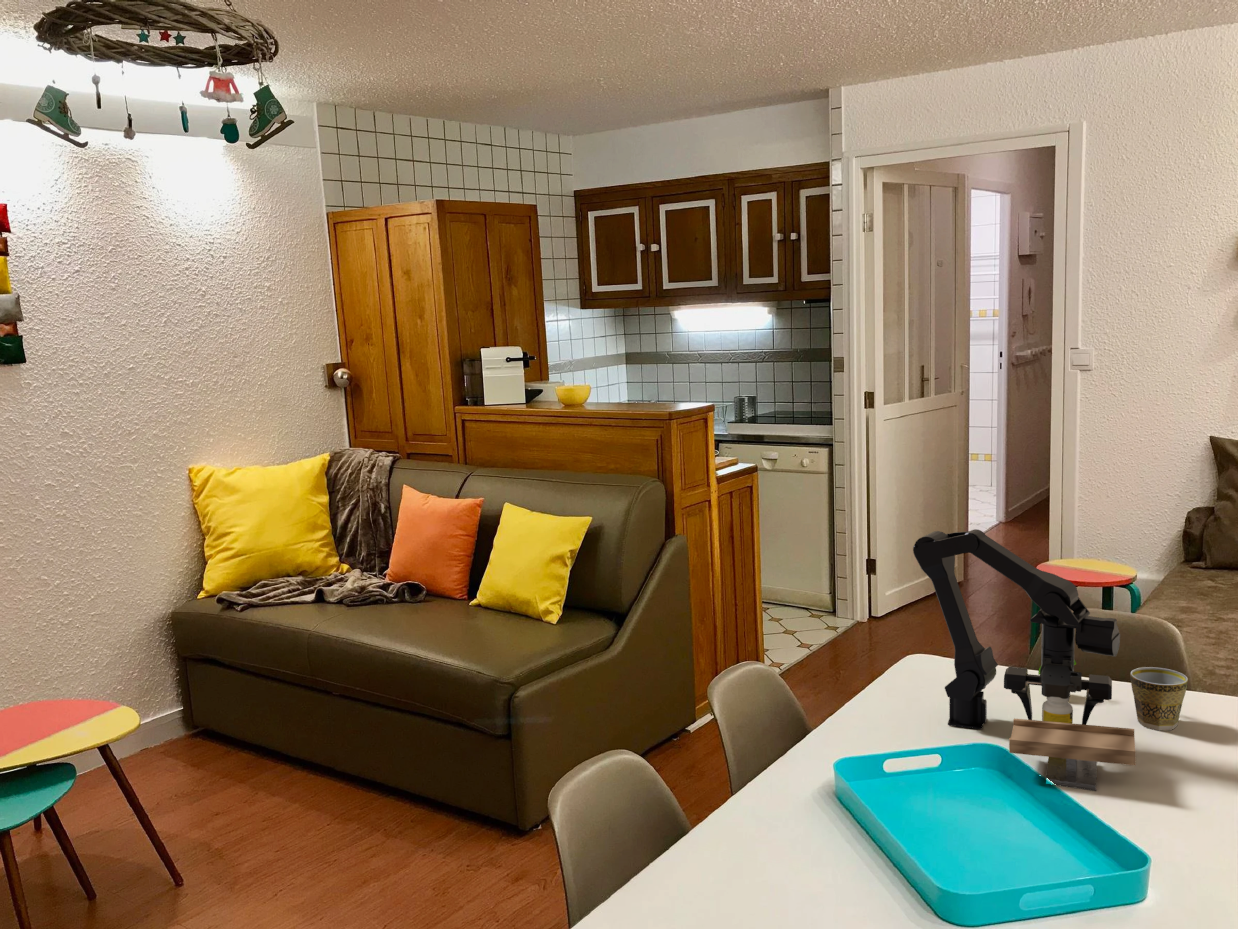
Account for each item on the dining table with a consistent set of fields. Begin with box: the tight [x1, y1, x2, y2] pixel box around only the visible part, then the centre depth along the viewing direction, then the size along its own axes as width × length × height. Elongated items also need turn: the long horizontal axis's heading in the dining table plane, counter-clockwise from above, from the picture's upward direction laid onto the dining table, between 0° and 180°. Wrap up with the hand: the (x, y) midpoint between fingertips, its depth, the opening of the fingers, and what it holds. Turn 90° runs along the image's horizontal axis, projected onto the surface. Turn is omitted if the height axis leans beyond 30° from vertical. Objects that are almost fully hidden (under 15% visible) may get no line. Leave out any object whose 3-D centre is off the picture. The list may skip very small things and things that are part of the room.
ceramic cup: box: [1129, 666, 1189, 732], centre depth 202 cm, size 13×10×10 cm
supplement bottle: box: [1041, 697, 1074, 724], centre depth 196 cm, size 5×5×10 cm
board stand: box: [1045, 757, 1098, 792], centre depth 182 cm, size 8×11×4 cm
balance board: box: [1008, 717, 1137, 767], centre depth 182 cm, size 20×10×2 cm, turn 65°
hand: (1056, 725), depth 196 cm, fingers open, 9 cm apart
